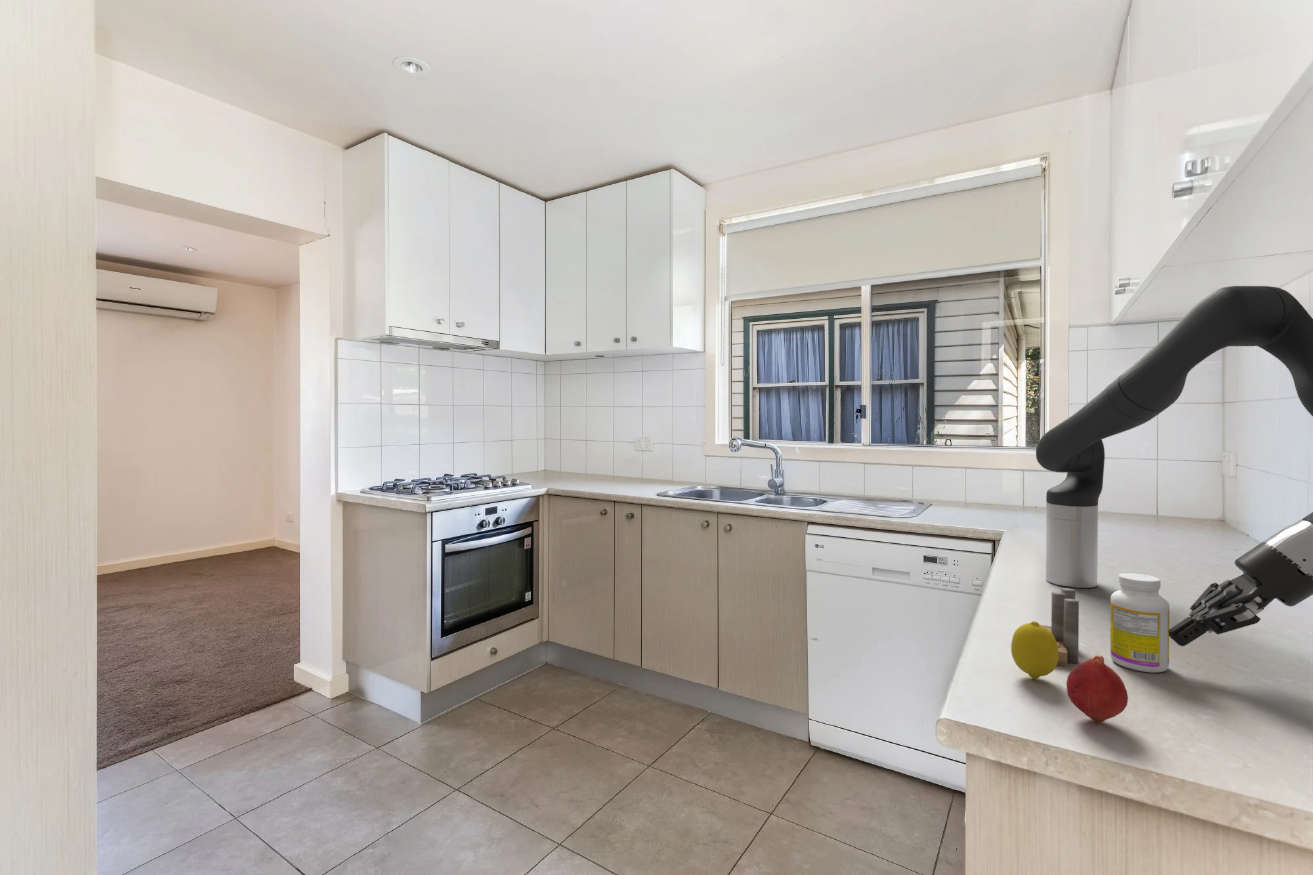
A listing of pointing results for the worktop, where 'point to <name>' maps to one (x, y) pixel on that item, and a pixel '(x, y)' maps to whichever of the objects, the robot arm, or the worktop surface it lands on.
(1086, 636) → the worktop surface
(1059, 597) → the pin block
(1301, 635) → the worktop surface
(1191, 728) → the worktop surface
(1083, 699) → the onion
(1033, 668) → the lemon
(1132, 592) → the supplement bottle
